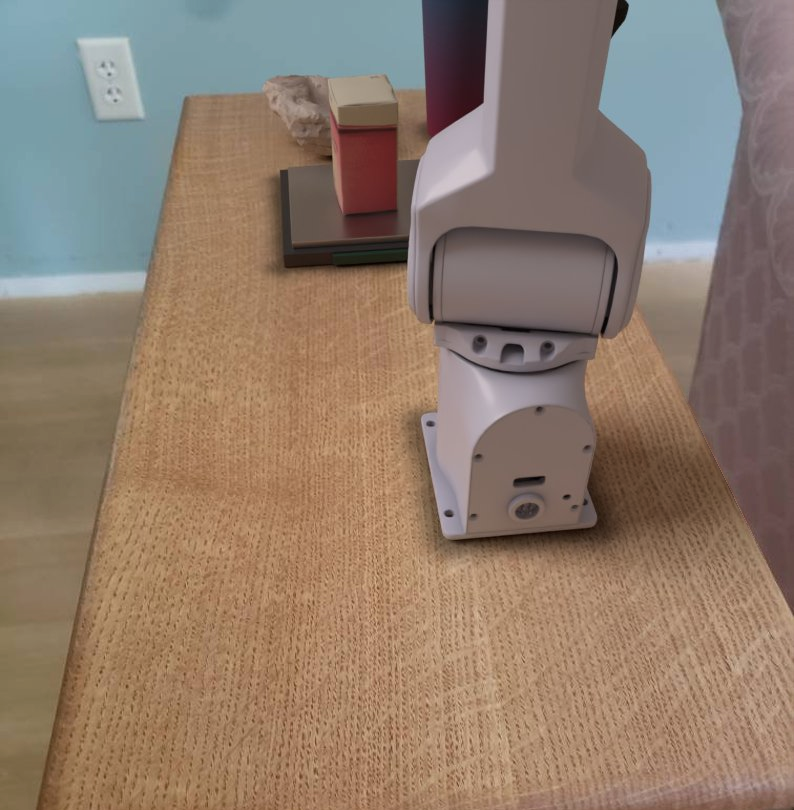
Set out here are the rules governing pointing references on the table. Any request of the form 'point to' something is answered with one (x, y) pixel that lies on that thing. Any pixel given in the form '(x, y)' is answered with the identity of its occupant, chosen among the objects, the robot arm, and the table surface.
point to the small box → (364, 143)
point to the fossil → (303, 109)
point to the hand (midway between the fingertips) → (541, 99)
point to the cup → (453, 59)
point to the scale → (340, 220)
